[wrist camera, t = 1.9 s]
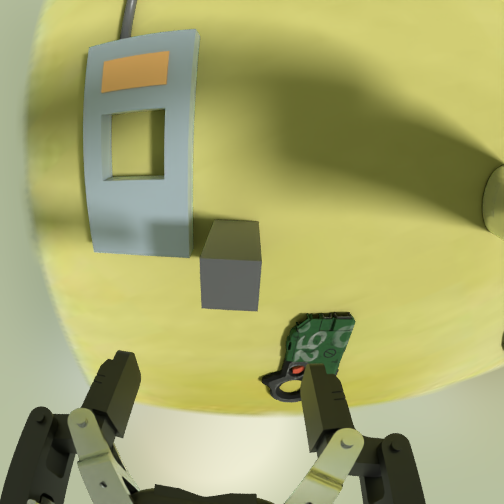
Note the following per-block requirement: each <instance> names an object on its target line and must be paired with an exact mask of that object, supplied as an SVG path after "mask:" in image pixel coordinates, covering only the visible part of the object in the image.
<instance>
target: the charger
mask: <svg viewBox="0 0 504 504" xmlns="http://www.w3.org/2000/svg"><path fill="white" fill-rule="evenodd" d="M261 264H262V258H261V245H260V233H259V222H258V221H238V220H216V219H215V220H214V222H213V225H212V227H211V230H210V232H209V235H208V238H207V240H206V243H205V245H204V248H203V251H202V253H201V256H200V281H201V303H202V308H206V309H222V310H240V311H258V301H259V289H260V277H261Z"/></svg>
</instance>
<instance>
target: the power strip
mask: <svg viewBox="0 0 504 504" xmlns="http://www.w3.org/2000/svg"><path fill="white" fill-rule="evenodd" d="M136 3H137V0H127V2H126V7H125V12H124V17H123V22H122V28H121V34H120V40H116V41H112V42H108V43H104V44H100V45H96V46H92V47H89V53H88V60H87V69H86V79H85V91H84V110H83V154H84V174H85V187H86V198H87V207H88V215H89V223H90V230H91V236H92V243H93V248H94V252H99V253H115V254H131V255H148V256H165V257H183V258H190V256H191V253H192V251H193V249H194V244H193V139H194V113H195V94H196V79H197V66H198V54H199V43H200V35H199V33H198V32H197V30H196V29H189V30H177V31H168V32H160V33H153V34H147V35H141V36H135V37H131V30H132V24H133V18H134V13H135V8H136ZM154 110H165V135H164V176H125V177H112V151H111V122H112V115H116V114H124V113H132V112H142V111H154Z"/></svg>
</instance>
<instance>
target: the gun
mask: <svg viewBox="0 0 504 504" xmlns="http://www.w3.org/2000/svg"><path fill="white" fill-rule="evenodd" d="M307 317H308V318H307V319H306V320H305V321H303V322H302V323H301V324H299V323H297V322H296V326H295V327H293V328H292V329H291V331H290V334H289V336H288V337H287V341H286V355H285V359H284V363H283V366H282V370H281V371H279V372H274V373H271V374H269V375H266V376H264V377H263V378H262V383H263V384H265V385H267V386H268V387H269V388H270V394H271V396H272V397H273V398H274V399H276V400H279V401H282V402H298V401H302V400H301V394H300V390H299V391H296V392H284V391H282V390H280V388H279V387H280V386H281V385H282V384H283V383H285V382H287V381H290V380H300V381H302V379H303V375H304V372H305V368H306V365H307V364H320V363H323V364H324V366H325V369H326V373H327V374H335V376H336V375H337V372H338V366H339V363H340V360H341V358H342V355H343V353H344V351H345V349H346V346H347V344H348V341H349V338H350V335H351V333H352V330H353V327H354V324H355V320H354V318H353V316H352V315H351V314H350V312H349V313H348V316H337V315H336V312H335V313H334V316H333V318H332V314H331V313H330V315H329V317H324V315H323V313H322V314H319V317H318V319H313V317H312V314H310V315H308V314H307ZM289 342H290V345H289ZM298 365H300V366H298ZM294 366H298V367H294ZM291 367H293V368H292V370H291V369H290V368H291Z"/></svg>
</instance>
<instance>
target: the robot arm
mask: <svg viewBox="0 0 504 504" xmlns="http://www.w3.org/2000/svg"><path fill="white" fill-rule="evenodd" d="M483 218H484V223H485V225H486V227H487V229H488V230H489V231H490V232H491V233H493V234H494V235H496V236H498V237H499V238H501V239H502V240H504V166H501V167H498V168H497V169H496V170H495V171H494V172H493V173H492V175H491V176H490V178H489V180H488V183H487V185H486V188H485V192H484V197H483ZM140 382H141V374H140V370H139V367H138V364H137V361H136V357H135V354H134V353H133V352H127V351H121V350H118V351H117V352H116V354H115V356H114V359H113V360H111V359H108V360H106V361H105V362H104V363H103V364H102V365H101V366H100V368H99V370H98V373H97V376H96V377H95V379H94V382H93V383H92V385H91V387H90V390H89V392H88V394H87V396H86V398H85V400H84V403H83V405H82V406H81V408H77V409H75V410H73V411H72V412H71V413H70V414H52V412H51V411H50V410H49V409H48V408H46V407H37V408H35V409H33V410H32V411H31V413H30V415H29V417H28V419H27V422H26V424H25V427H24V429H23V431H22V434H21V437H20V439H19V442H18V444H17V447H16V450H15V452H14V455H13V458H12V461H11V464H10V467H9V470H8V474H7V477H6V480H5V483H4V487H3V491H2V495H1V499H0V504H63V503H64V498H65V494H66V489H67V485H68V481H69V476H70V472H71V468H72V465H73V461H74V457H75V454H78V457H79V461H78V462H77V464H78V468H79V471H80V473H81V476H82V478H83V481H84V483H85V485H86V488H87V490H88V493H89V495H90V497H91V499H92V501H93V503H94V504H274V503H272V502H269V501H267V500H263V499H260V498H257V495H256V494H233V493H230V494H225V495H218V496H209V497H202V496H199V495H196V494H193V493H191V492H188V491H185V490H182V489H180V488H173V487H168V486H162V485H157V484H155V488H151V489H145V490H141V491H140V489H139V487H138V486H137V484H136V483H135V481H134V480H133V478H132V477H131V476H130V474H129V472H128V470H127V468H126V467H125V465H124V463H123V461H122V459H121V457H120V455H119V452H118V450H117V448H116V446H115V444H114V439H115V436H117V437H121V438H123V436H124V433H125V430H126V426H127V423H128V420H129V417H130V413H131V410H132V407H133V404H134V401H135V398H136V395H137V392H138V389H139V386H140ZM300 394H301V400H302V407H303V413H304V418H305V425H306V431H307V438H308V444H309V451H310V453H311V452H317V456H318V459H317V460H316V462H315V464H314V465H313V466H312V468H311V469H310V471H309V472H308V473H307V475H306V476H305V477H304V479H303V480H302V481H301V483H300V484H299V485H298V487H297V488H296V489H295V490H294V492H293V493H292V494H291V496H290V497H289V498H288V499H287V500H286V502H285V503H284V504H333V502H334V501H335V499H336V498H337V496H338V495H339V493H340V491H341V489H342V487H343V482H344V480H345V479H346V477H347V475H352V476H359V478H360V484H361V491H362V496H363V497H362V498H363V504H426V503H425V499H424V494H423V490H422V486H421V482H420V478H419V474H418V470H417V467H416V463H415V459H414V456H413V452H412V449H411V446H410V443H409V440H408V439H407V438H406V437H405V436H404V435H402V434H398V433H393V434H390V435H388V436H386V437H385V439H380V438H370V437H366V436H363V435H361V434H360V432H358V431H357V430H356V429H355V428H354V425H353V422H352V419H351V415H350V412H349V408H348V405H347V401H346V400H345V395H344V393H343V388H342V385H341V382H340V380H339V379H338V378H337V377H336V376H335V374H327V373H326V369H325V366H324V364H323V363H320V364H307V365H306V368H305V372H304V375H303V379H302V382H301V388H300Z"/></svg>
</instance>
